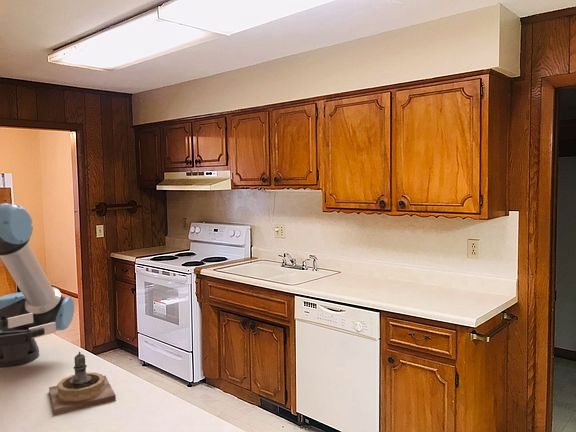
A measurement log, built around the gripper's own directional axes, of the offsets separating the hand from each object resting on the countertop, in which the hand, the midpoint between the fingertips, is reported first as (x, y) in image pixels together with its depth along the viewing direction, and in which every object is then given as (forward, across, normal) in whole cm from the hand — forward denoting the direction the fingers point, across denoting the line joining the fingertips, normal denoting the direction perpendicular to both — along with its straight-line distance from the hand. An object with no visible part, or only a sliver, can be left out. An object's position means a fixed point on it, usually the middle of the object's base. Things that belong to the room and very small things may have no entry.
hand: (43, 322), depth 132 cm
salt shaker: (+10, 0, -23) cm, 25 cm away
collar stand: (+10, 0, -25) cm, 27 cm away
